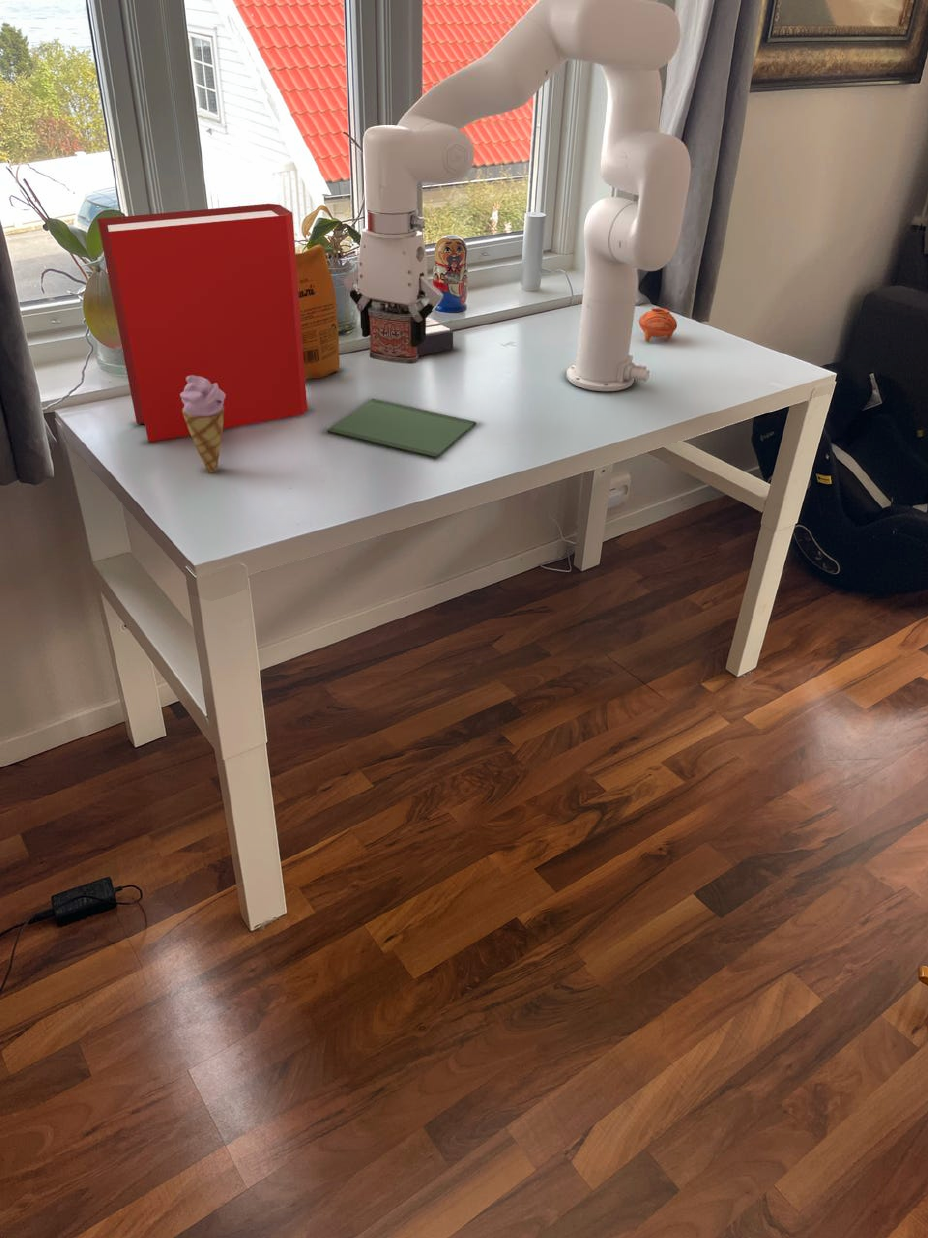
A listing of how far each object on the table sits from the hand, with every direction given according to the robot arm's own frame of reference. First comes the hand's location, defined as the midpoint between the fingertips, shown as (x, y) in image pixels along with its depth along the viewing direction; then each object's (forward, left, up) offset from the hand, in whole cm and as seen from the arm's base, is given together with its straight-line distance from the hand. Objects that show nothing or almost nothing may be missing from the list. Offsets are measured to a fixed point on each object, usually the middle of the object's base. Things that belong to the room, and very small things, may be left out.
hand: (393, 338), depth 147 cm
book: (+27, +10, -15) cm, 33 cm away
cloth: (-1, -1, -15) cm, 15 cm away
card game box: (+17, -38, -15) cm, 44 cm away
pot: (-26, -65, -15) cm, 72 cm away
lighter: (0, 0, -3) cm, 3 cm away
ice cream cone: (+17, +26, -15) cm, 35 cm away
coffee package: (+27, -14, -15) cm, 34 cm away
